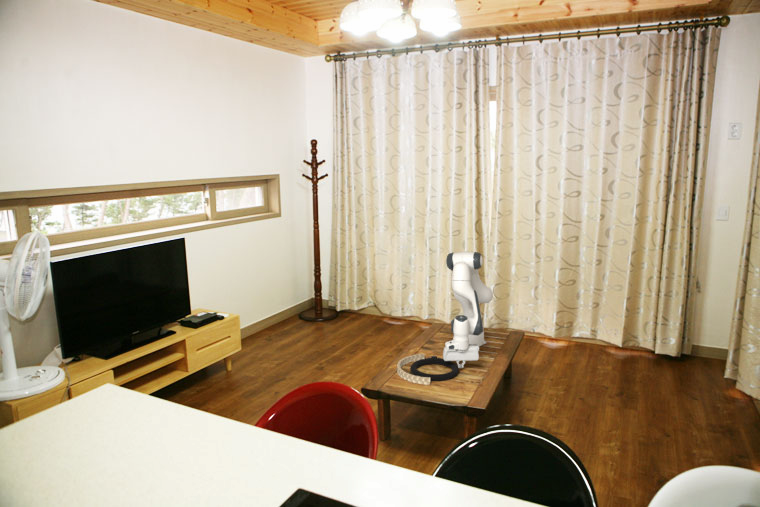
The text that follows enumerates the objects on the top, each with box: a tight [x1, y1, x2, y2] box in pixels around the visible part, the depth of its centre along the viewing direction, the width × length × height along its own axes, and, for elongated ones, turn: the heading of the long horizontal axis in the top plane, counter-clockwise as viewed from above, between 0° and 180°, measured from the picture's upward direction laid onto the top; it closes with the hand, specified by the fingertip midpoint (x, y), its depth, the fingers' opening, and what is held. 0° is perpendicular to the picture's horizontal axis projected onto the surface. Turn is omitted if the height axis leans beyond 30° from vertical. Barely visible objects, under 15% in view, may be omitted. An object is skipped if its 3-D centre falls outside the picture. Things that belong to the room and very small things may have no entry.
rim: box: [396, 353, 431, 386], centre depth 296 cm, size 37×17×4 cm, turn 0°
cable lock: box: [410, 355, 460, 382], centre depth 296 cm, size 28×4×30 cm
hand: (460, 367), depth 296 cm, fingers closed
